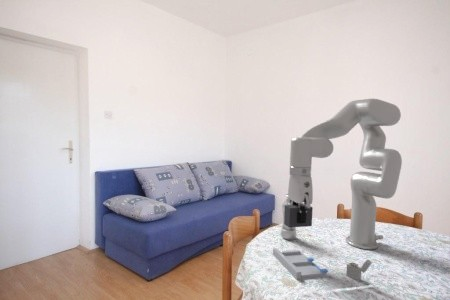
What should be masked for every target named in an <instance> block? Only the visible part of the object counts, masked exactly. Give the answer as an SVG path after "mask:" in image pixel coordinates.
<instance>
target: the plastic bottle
mask: <svg viewBox="0 0 450 300" xmlns="http://www.w3.org/2000/svg"><path fill="white" fill-rule="evenodd" d="M285 205H291V203H290V200H289V197H288V193H287V194H285V201H284V202H283V203H282V205H281V209H282V224H281V225H282V226H281V232H280V235H281V238H282V239H284V240H286V241H294V240H295V239H296V238H297V229H296V228H297V227H290V228H289V227H288V226H286V225H285V224H284V214H285Z"/></svg>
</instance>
